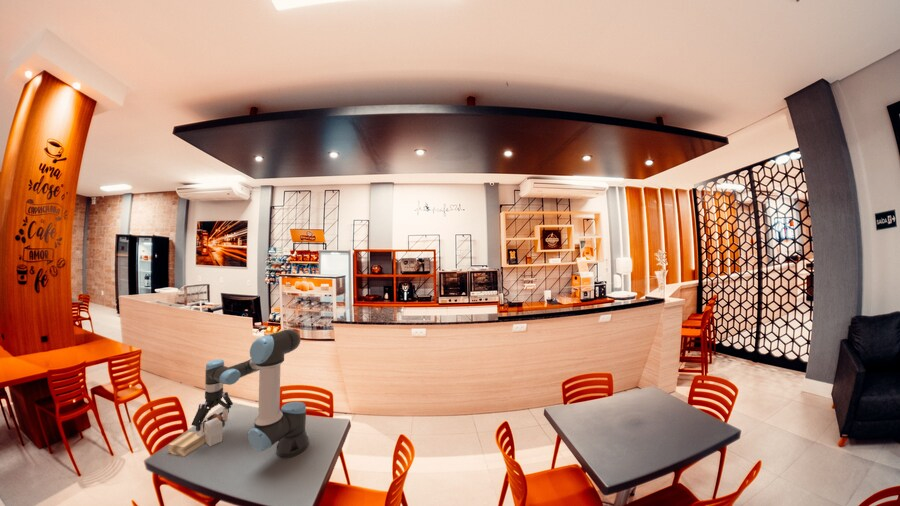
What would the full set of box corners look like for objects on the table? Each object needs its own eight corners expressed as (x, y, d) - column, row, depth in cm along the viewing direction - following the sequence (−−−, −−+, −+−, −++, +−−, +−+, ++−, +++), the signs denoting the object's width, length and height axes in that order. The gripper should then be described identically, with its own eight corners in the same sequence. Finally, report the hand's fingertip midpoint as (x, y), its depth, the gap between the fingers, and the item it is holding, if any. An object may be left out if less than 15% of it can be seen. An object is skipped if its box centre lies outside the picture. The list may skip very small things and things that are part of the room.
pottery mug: (216, 433, 158) (207, 422, 156) (204, 438, 159) (195, 427, 158) (234, 415, 169) (225, 405, 168) (222, 420, 171) (214, 410, 169)
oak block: (204, 443, 149) (205, 434, 149) (184, 457, 139) (184, 447, 139) (189, 440, 151) (189, 431, 151) (168, 453, 141) (168, 444, 141)
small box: (222, 441, 151) (222, 422, 151) (209, 447, 146) (209, 427, 146) (216, 435, 155) (217, 417, 155) (204, 441, 150) (204, 422, 150)
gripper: (230, 377, 163) (229, 413, 164) (182, 400, 139) (181, 442, 139) (241, 379, 162) (239, 415, 162) (195, 402, 137) (193, 444, 138)
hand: (213, 427), depth 151 cm, fingers open, 13 cm apart
